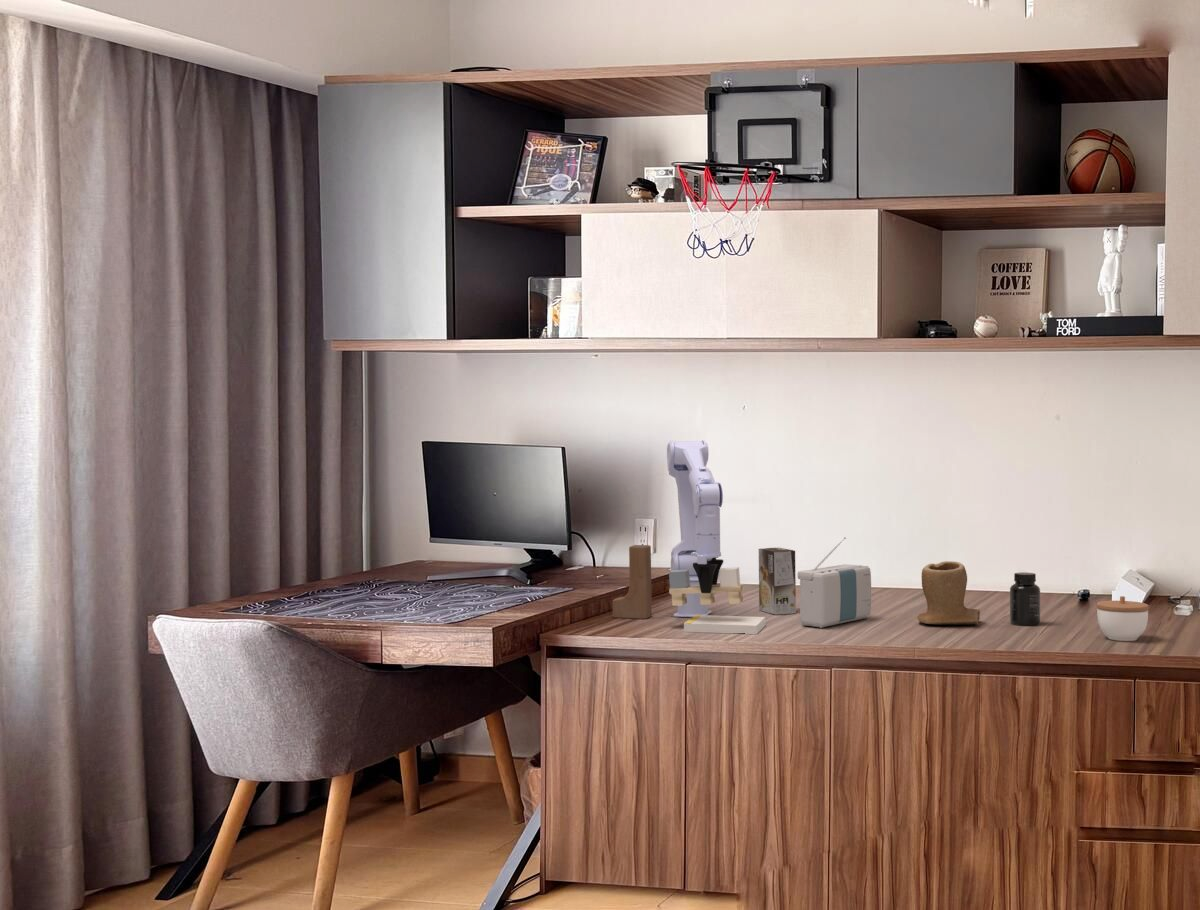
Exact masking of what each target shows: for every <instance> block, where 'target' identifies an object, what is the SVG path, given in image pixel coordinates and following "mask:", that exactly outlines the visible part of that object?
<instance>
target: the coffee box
mask: <svg viewBox="0 0 1200 910" xmlns="http://www.w3.org/2000/svg"><path fill="white" fill-rule="evenodd" d="M796 578H797V577H796V550H793V549H790V548H789V549H788V548H784V547H767V548H758V596H759V597H758V599H759V601H758V602H759V604H758V609H759V612H760V611H761V612H765V613H768V614H772V615H774V616H775V615H776V616H777V615H790V614H794V615H795V614H796V613H797V609H796V608H797V603H796V601H797V598H796V595H797V592H796V591H797V588H796V583H797V582H796V581H797V580H796Z"/></svg>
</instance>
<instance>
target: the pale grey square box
mask: <svg viewBox="0 0 1200 910" xmlns="http://www.w3.org/2000/svg"><path fill="white" fill-rule="evenodd" d="M668 577H669V589H680V588H688V587H690V577H689V569H688V570H672V571H671V570H670V571H669V572H668Z"/></svg>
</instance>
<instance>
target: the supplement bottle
mask: <svg viewBox="0 0 1200 910" xmlns="http://www.w3.org/2000/svg"><path fill="white" fill-rule="evenodd" d="M1013 577H1014V578H1013V582H1014V583H1013V584H1012V585H1011V586H1009V587H1010V588H1009V622H1010V624H1011V625H1014V626H1022V627H1035V626H1039V625H1040V624H1041V588H1040V586H1038V585H1037V584H1036V582H1037V579H1036V577H1037V574H1036V573H1035V572H1034V573H1033V572H1027V571H1026V572H1022V571H1021V572H1014V576H1013Z"/></svg>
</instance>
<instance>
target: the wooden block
mask: <svg viewBox="0 0 1200 910" xmlns="http://www.w3.org/2000/svg"><path fill="white" fill-rule="evenodd" d="M651 548H652V546H651V545H650V544H645V545H644V544H634V545H633V544H632V545H630V546H629V548H628V552H629V553H628V555H629V557H628V558H629V559H628V560H629V561H628V562H629V564H628V567H629V568H628V569H629V572H628V573H629V575H628V576H629V587H628V590H627V593H626V594H625V595H624V596H619V597H617V598H614V599H613V600H612V618H614V619H634V620H636V619H638V620H647V619H649V618H651V617H652V549H651Z"/></svg>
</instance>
